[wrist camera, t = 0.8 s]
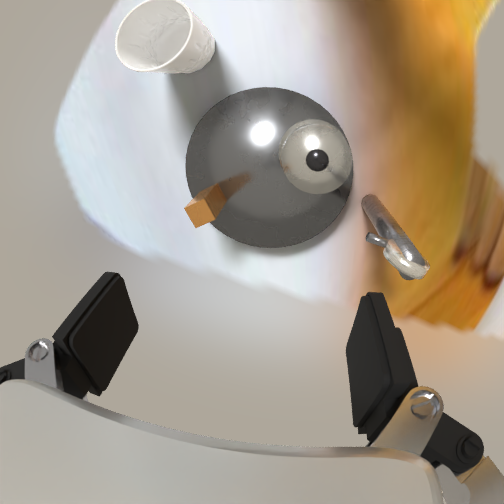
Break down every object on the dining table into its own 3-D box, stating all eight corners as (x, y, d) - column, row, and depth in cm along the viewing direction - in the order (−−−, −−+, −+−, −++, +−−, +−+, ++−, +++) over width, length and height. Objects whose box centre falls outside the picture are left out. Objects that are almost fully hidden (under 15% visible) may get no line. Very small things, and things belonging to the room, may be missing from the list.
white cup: (205, 85, 28) (172, 80, 20) (150, 70, 28) (104, 64, 19) (231, 29, 24) (207, 3, 16) (173, 16, 24) (134, -6, 15)
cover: (332, 109, 26) (338, 109, 22) (357, 173, 29) (366, 182, 25) (266, 135, 28) (263, 139, 25) (295, 196, 31) (296, 209, 28)
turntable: (310, 63, 25) (315, 51, 19) (369, 210, 32) (386, 237, 26) (164, 134, 31) (135, 144, 25) (234, 259, 39) (223, 292, 32)
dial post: (388, 201, 32) (441, 268, 19) (380, 217, 34) (426, 291, 20) (348, 184, 32) (386, 245, 19) (341, 201, 33) (371, 271, 20)
